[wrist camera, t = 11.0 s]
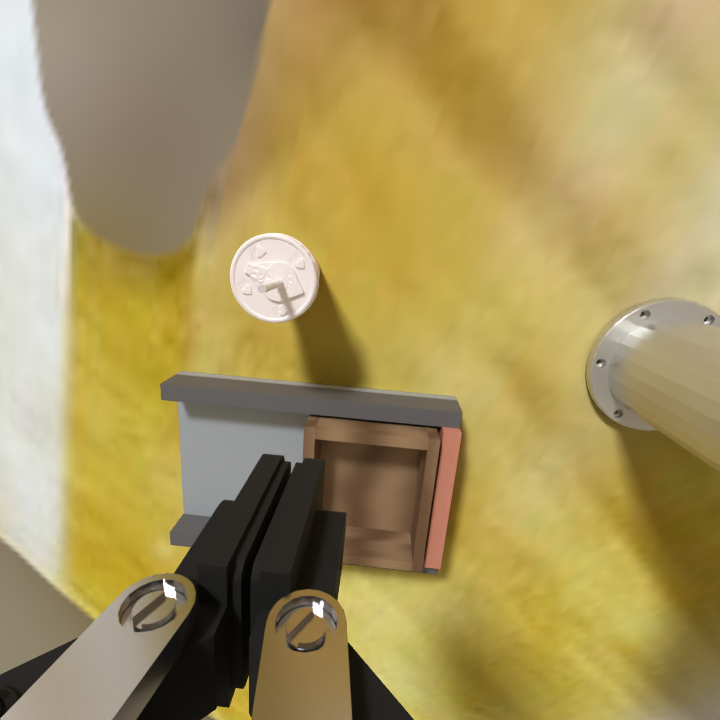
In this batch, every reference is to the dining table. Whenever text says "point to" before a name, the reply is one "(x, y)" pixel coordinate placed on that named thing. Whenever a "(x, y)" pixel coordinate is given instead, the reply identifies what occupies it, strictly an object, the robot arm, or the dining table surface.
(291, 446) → the bay
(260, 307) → the smoothie
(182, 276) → the dining table surface
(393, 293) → the dining table surface
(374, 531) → the box
